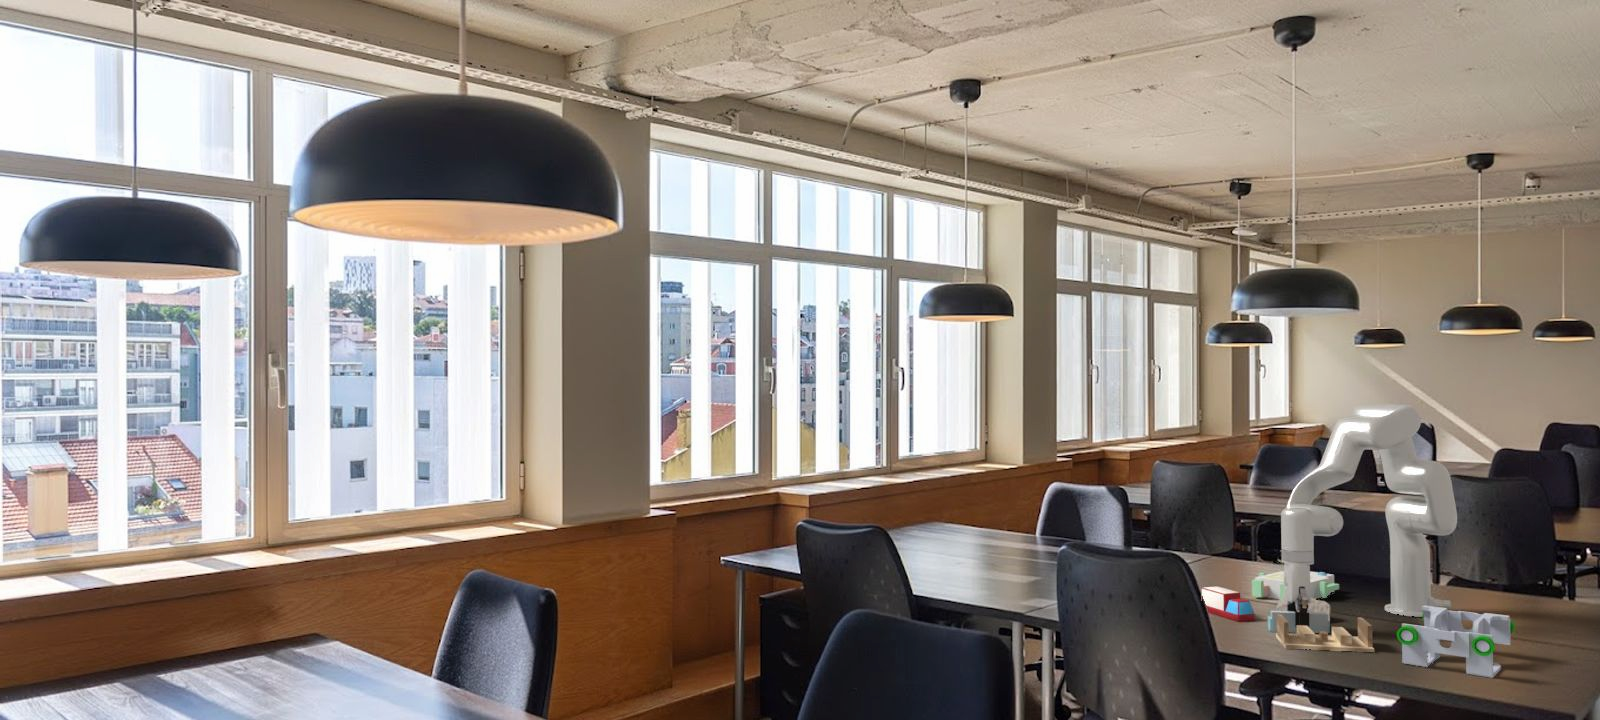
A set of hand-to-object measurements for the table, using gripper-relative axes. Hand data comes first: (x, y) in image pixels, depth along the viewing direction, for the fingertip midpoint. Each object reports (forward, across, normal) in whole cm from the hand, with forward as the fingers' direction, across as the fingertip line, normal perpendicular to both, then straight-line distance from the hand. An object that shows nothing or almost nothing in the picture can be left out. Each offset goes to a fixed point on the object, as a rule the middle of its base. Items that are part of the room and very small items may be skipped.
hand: (1298, 624), depth 280 cm
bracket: (+2, +24, +29) cm, 37 cm away
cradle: (+2, +13, +3) cm, 14 cm away
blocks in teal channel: (+2, +1, 0) cm, 2 cm away
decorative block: (+2, -47, +8) cm, 47 cm away
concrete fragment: (+2, -16, +5) cm, 17 cm away
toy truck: (+2, -16, -15) cm, 22 cm away
